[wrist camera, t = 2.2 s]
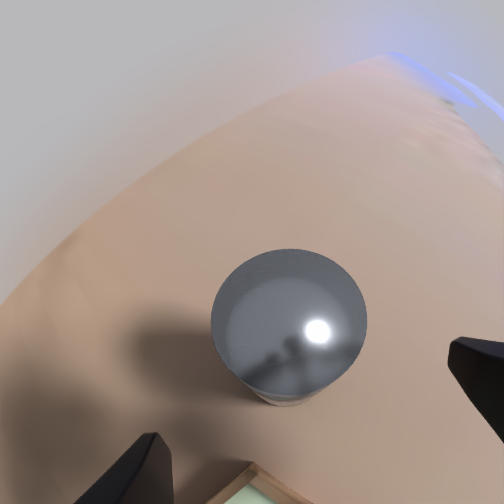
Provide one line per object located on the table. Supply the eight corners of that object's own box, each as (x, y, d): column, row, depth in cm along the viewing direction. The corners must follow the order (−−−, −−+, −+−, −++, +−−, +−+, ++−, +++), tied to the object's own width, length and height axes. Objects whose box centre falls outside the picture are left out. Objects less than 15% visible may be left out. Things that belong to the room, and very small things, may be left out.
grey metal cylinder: (339, 363, 17) (393, 301, 8) (290, 421, 15) (300, 427, 7) (282, 320, 19) (278, 226, 10) (232, 373, 17) (180, 323, 9)
